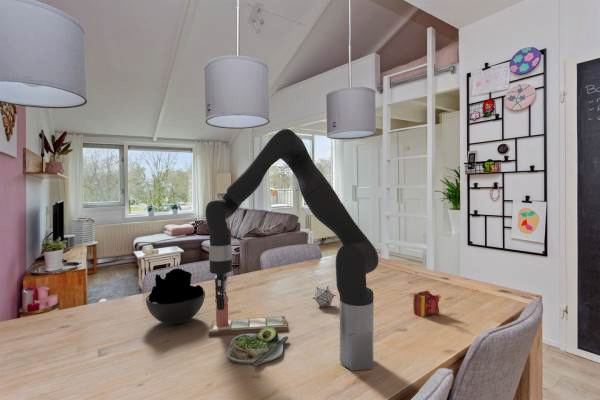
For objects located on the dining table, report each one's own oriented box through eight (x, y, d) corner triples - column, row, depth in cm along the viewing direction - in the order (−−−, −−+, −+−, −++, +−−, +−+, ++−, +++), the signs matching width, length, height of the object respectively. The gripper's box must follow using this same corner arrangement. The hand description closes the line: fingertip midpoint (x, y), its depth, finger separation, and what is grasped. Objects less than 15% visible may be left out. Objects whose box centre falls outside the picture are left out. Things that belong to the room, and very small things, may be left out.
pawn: (228, 326, 111) (227, 295, 110) (215, 327, 110) (214, 295, 110) (229, 321, 115) (228, 291, 115) (216, 322, 115) (215, 291, 114)
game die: (327, 316, 133) (333, 302, 127) (308, 308, 134) (313, 293, 128) (333, 300, 140) (339, 285, 134) (315, 292, 141) (320, 277, 135)
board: (287, 330, 111) (287, 325, 111) (208, 336, 108) (208, 331, 108) (285, 320, 120) (285, 315, 120) (212, 324, 117) (212, 320, 117)
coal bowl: (203, 308, 132) (202, 262, 132) (208, 328, 114) (207, 274, 113) (148, 316, 125) (147, 267, 124) (144, 338, 107) (142, 281, 106)
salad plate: (285, 371, 87) (285, 354, 87) (218, 371, 88) (218, 354, 88) (289, 338, 107) (289, 324, 107) (234, 338, 107) (234, 324, 107)
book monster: (429, 308, 131) (450, 322, 119) (409, 311, 129) (428, 325, 117) (430, 282, 130) (451, 293, 118) (409, 284, 128) (428, 296, 116)
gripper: (230, 261, 105) (231, 312, 106) (233, 253, 119) (234, 297, 120) (206, 262, 104) (207, 313, 105) (212, 254, 118) (213, 299, 119)
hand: (221, 305), depth 112 cm, fingers open, 8 cm apart
